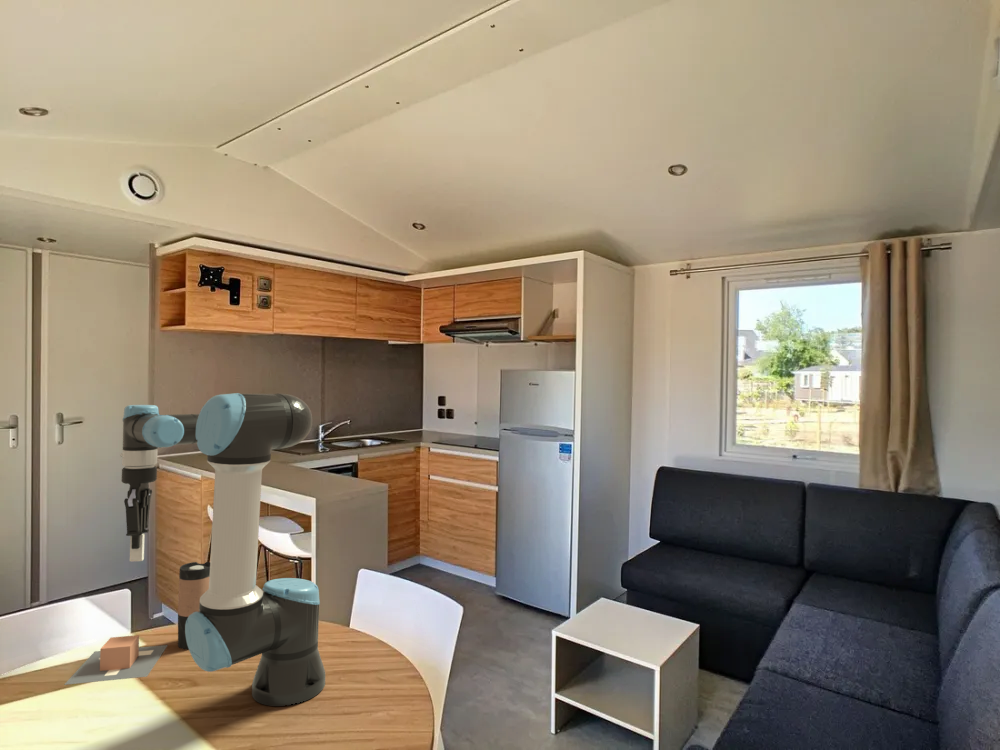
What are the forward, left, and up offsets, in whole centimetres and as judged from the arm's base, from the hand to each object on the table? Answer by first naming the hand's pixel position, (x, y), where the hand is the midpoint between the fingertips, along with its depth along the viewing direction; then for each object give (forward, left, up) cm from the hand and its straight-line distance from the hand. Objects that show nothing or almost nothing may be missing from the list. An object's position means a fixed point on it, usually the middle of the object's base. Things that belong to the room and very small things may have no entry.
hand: (136, 560), depth 146 cm
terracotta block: (-10, 0, -21) cm, 23 cm away
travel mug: (-2, -14, -22) cm, 26 cm away
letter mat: (-10, 0, -22) cm, 24 cm away
